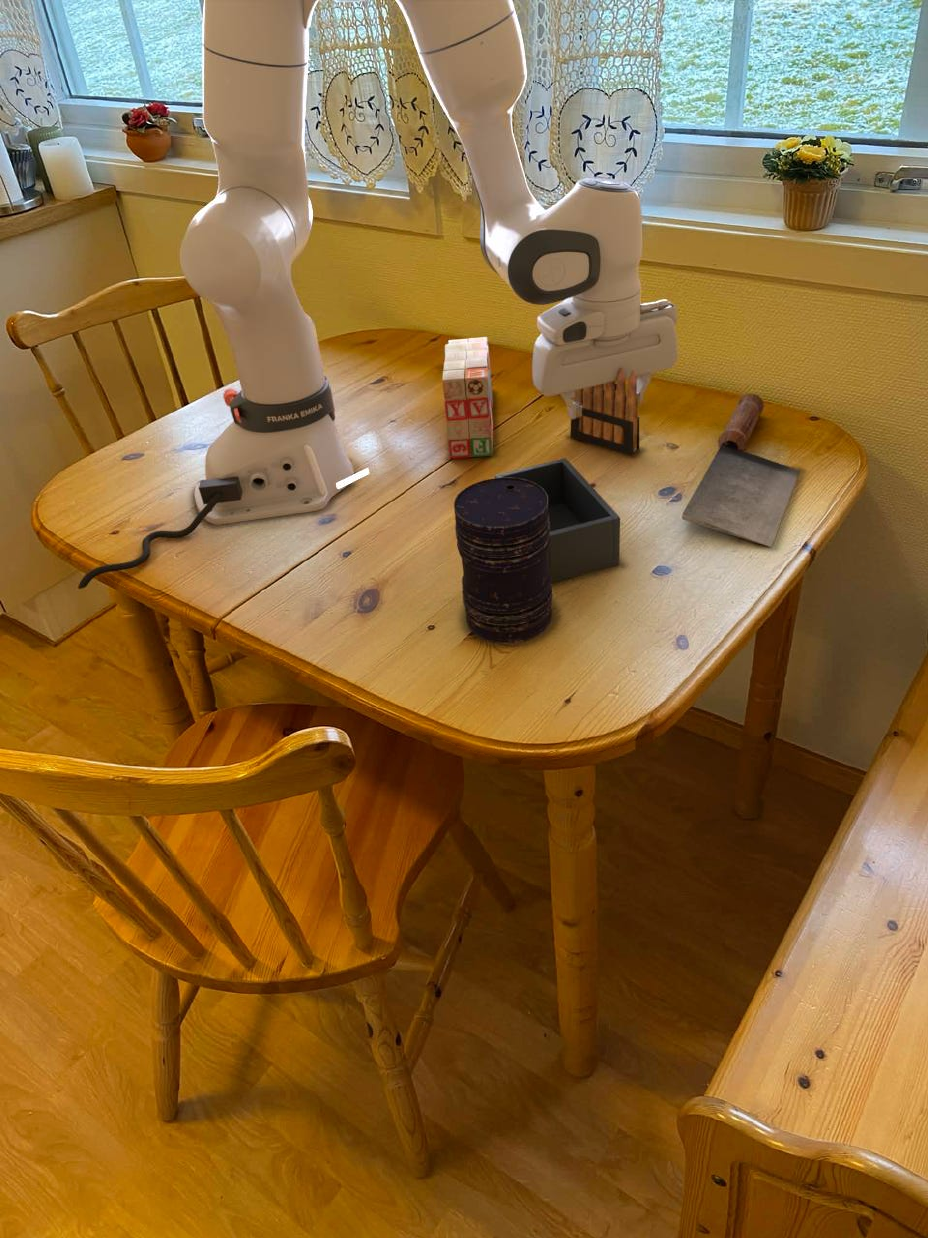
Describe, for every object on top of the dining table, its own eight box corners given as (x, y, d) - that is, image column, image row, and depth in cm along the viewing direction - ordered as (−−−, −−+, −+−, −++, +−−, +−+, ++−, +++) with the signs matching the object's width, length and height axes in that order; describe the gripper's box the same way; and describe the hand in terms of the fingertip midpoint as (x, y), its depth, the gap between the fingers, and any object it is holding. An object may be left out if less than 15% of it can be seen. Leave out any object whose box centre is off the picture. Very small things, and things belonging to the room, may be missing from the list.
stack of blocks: (453, 394, 150) (446, 320, 142) (492, 391, 149) (487, 316, 141) (449, 459, 133) (441, 378, 125) (493, 456, 132) (487, 375, 125)
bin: (544, 585, 107) (542, 538, 103) (497, 519, 119) (494, 474, 115) (619, 564, 109) (620, 517, 105) (566, 502, 121) (565, 457, 117)
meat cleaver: (772, 547, 109) (777, 518, 107) (678, 531, 114) (680, 503, 111) (817, 423, 133) (821, 396, 130) (737, 413, 137) (740, 388, 134)
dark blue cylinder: (535, 652, 98) (530, 534, 89) (451, 635, 102) (437, 520, 92) (564, 597, 105) (562, 483, 96) (484, 583, 109) (474, 471, 99)
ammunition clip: (570, 436, 135) (568, 358, 128) (577, 431, 136) (576, 353, 129) (632, 455, 129) (635, 374, 122) (639, 450, 130) (642, 369, 123)
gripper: (666, 289, 125) (661, 385, 134) (525, 319, 121) (530, 416, 130) (689, 303, 120) (683, 402, 129) (543, 335, 116) (547, 435, 125)
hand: (605, 409), depth 129 cm, fingers open, 8 cm apart
